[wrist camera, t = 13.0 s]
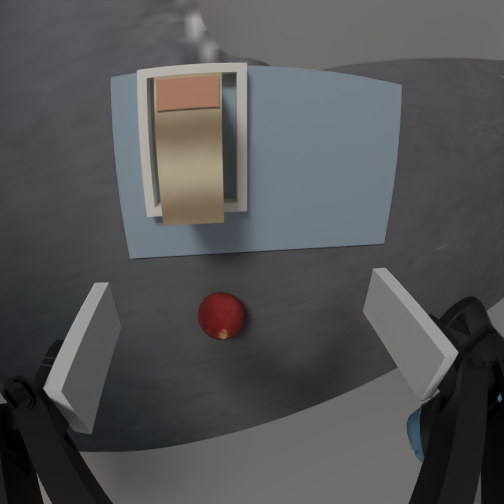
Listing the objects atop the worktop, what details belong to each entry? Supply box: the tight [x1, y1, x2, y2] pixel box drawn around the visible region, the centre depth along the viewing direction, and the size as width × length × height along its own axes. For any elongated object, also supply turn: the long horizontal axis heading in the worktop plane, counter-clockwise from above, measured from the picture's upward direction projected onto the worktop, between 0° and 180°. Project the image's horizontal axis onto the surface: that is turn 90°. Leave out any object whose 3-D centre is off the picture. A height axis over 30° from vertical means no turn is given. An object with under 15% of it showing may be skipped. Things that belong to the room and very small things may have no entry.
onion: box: [198, 292, 245, 340], centre depth 37 cm, size 6×6×8 cm
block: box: [154, 72, 224, 226], centre depth 26 cm, size 12×5×10 cm, turn 0°
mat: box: [111, 66, 402, 259], centre depth 33 cm, size 34×22×1 cm, turn 90°
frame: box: [137, 63, 247, 217], centre depth 29 cm, size 11×16×2 cm
